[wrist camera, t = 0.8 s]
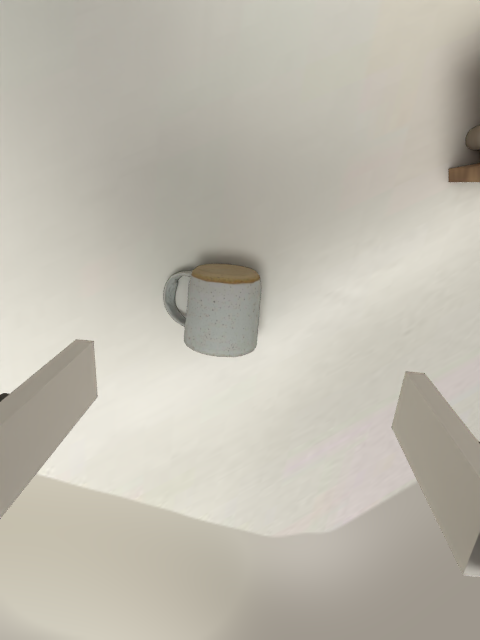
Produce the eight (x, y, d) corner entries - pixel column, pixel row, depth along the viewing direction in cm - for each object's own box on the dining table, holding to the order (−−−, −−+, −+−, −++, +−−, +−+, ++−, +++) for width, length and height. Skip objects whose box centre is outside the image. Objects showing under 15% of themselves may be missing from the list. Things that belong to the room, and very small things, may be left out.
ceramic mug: (264, 263, 41) (260, 280, 34) (258, 334, 44) (253, 364, 36) (167, 255, 42) (143, 270, 34) (167, 325, 44) (145, 353, 37)
